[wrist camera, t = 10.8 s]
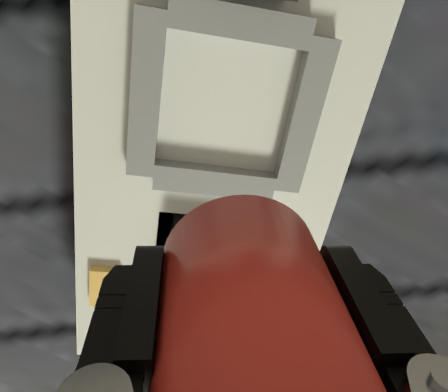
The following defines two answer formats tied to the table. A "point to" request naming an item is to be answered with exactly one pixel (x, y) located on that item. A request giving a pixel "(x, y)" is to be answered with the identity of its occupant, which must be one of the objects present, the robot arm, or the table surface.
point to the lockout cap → (253, 307)
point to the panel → (212, 113)
